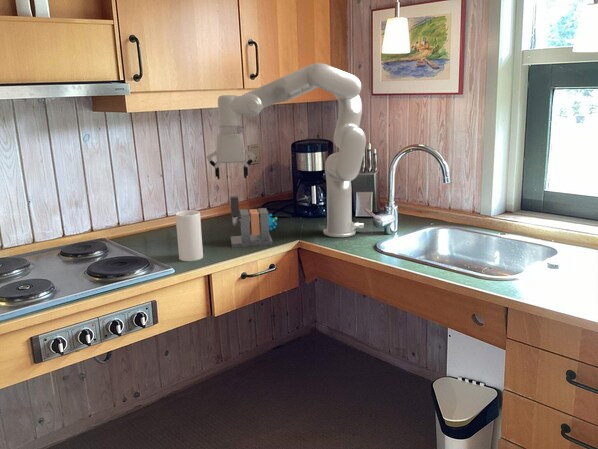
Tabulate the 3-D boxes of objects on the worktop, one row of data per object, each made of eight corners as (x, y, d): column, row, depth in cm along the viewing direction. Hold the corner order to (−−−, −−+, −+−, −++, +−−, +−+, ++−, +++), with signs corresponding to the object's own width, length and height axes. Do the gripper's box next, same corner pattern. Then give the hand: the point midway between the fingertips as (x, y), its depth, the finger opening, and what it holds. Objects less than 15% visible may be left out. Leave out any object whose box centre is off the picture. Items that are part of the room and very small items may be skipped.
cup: (174, 258, 192) (170, 213, 188) (193, 252, 198) (190, 209, 194) (188, 262, 187) (184, 217, 183) (207, 256, 193) (204, 212, 189)
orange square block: (257, 229, 212) (256, 208, 210) (259, 234, 204) (258, 213, 202) (250, 229, 211) (249, 209, 209) (251, 235, 204) (250, 214, 201)
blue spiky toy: (262, 229, 219) (252, 209, 223) (255, 238, 223) (245, 218, 227) (283, 228, 227) (273, 208, 231) (276, 236, 231) (266, 216, 235)
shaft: (264, 222, 209) (263, 193, 206) (265, 224, 205) (264, 195, 203) (231, 224, 207) (229, 195, 205) (232, 227, 204) (230, 197, 201)
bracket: (269, 237, 214) (268, 207, 211) (272, 244, 205) (271, 213, 202) (230, 240, 212) (228, 209, 209) (231, 247, 202) (230, 216, 199)
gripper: (253, 129, 202) (254, 175, 206) (205, 130, 199) (207, 177, 203) (255, 131, 195) (256, 179, 199) (205, 132, 192) (207, 180, 196)
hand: (231, 178), depth 201 cm, fingers open, 9 cm apart
